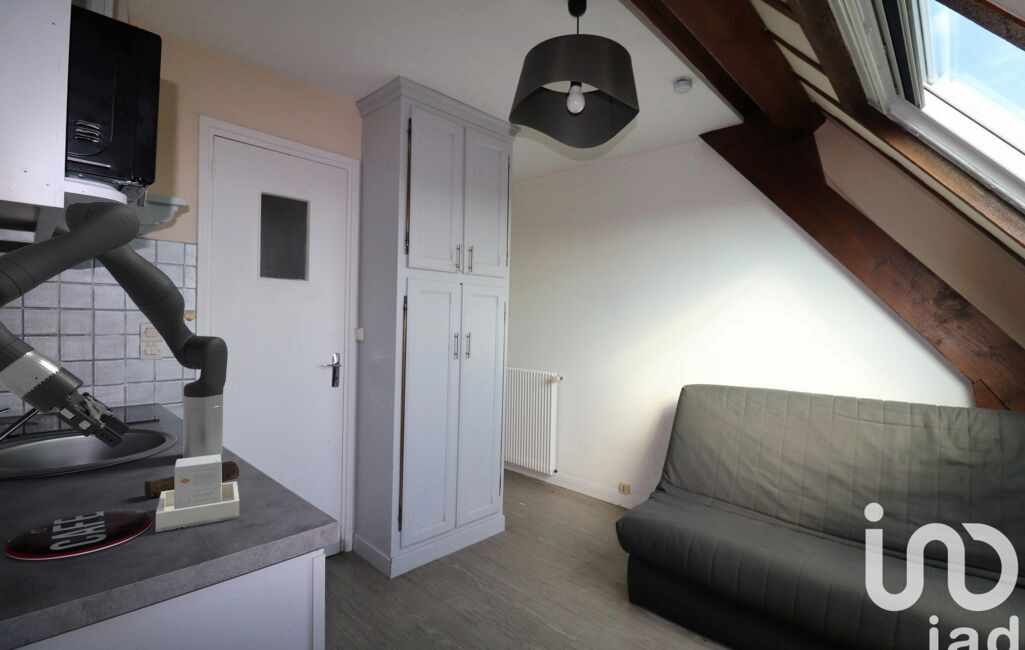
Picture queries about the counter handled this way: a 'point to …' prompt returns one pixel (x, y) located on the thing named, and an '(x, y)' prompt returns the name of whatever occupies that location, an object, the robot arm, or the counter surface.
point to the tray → (197, 510)
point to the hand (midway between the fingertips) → (122, 437)
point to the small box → (197, 481)
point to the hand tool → (167, 484)
